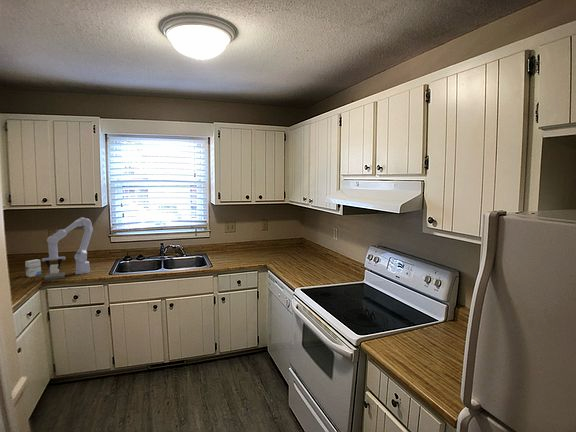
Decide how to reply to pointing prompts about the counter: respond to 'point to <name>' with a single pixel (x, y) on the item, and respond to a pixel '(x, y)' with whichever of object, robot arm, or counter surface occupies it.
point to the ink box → (33, 267)
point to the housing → (54, 269)
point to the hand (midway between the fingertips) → (54, 269)
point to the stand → (54, 276)
